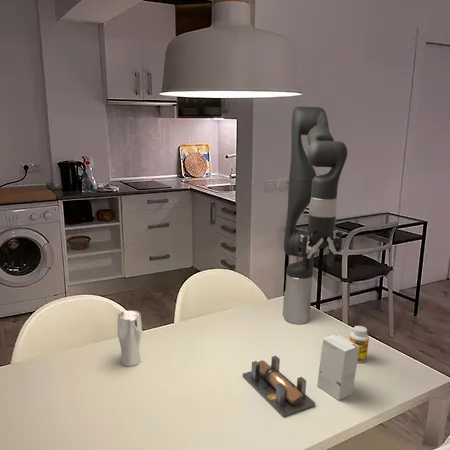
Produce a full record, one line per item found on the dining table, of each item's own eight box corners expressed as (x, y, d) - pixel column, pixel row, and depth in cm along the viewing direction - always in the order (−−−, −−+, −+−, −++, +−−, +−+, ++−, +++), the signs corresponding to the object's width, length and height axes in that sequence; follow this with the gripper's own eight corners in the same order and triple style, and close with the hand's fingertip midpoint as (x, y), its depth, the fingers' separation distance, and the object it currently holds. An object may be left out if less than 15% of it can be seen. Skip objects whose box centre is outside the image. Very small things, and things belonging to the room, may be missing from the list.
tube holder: (242, 376, 132) (243, 357, 131) (271, 368, 137) (272, 350, 135) (283, 417, 115) (284, 396, 114) (315, 406, 120) (316, 385, 118)
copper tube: (301, 403, 119) (303, 390, 118) (290, 406, 118) (291, 393, 117) (265, 370, 134) (266, 359, 133) (254, 373, 132) (255, 361, 131)
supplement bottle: (352, 364, 140) (355, 333, 138) (345, 354, 146) (347, 324, 143) (369, 363, 141) (373, 332, 139) (361, 353, 146) (365, 324, 144)
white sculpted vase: (124, 370, 134) (123, 322, 130) (114, 359, 139) (113, 313, 136) (146, 362, 138) (145, 316, 134) (136, 352, 143) (135, 308, 140)
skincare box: (316, 386, 128) (320, 337, 125) (331, 379, 132) (335, 331, 128) (339, 401, 122) (344, 350, 118) (355, 394, 125) (360, 344, 122)
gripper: (310, 218, 123) (306, 275, 127) (351, 213, 130) (346, 268, 134) (293, 212, 130) (290, 267, 134) (333, 208, 136) (328, 260, 140)
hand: (318, 267), depth 134 cm, fingers open, 8 cm apart
